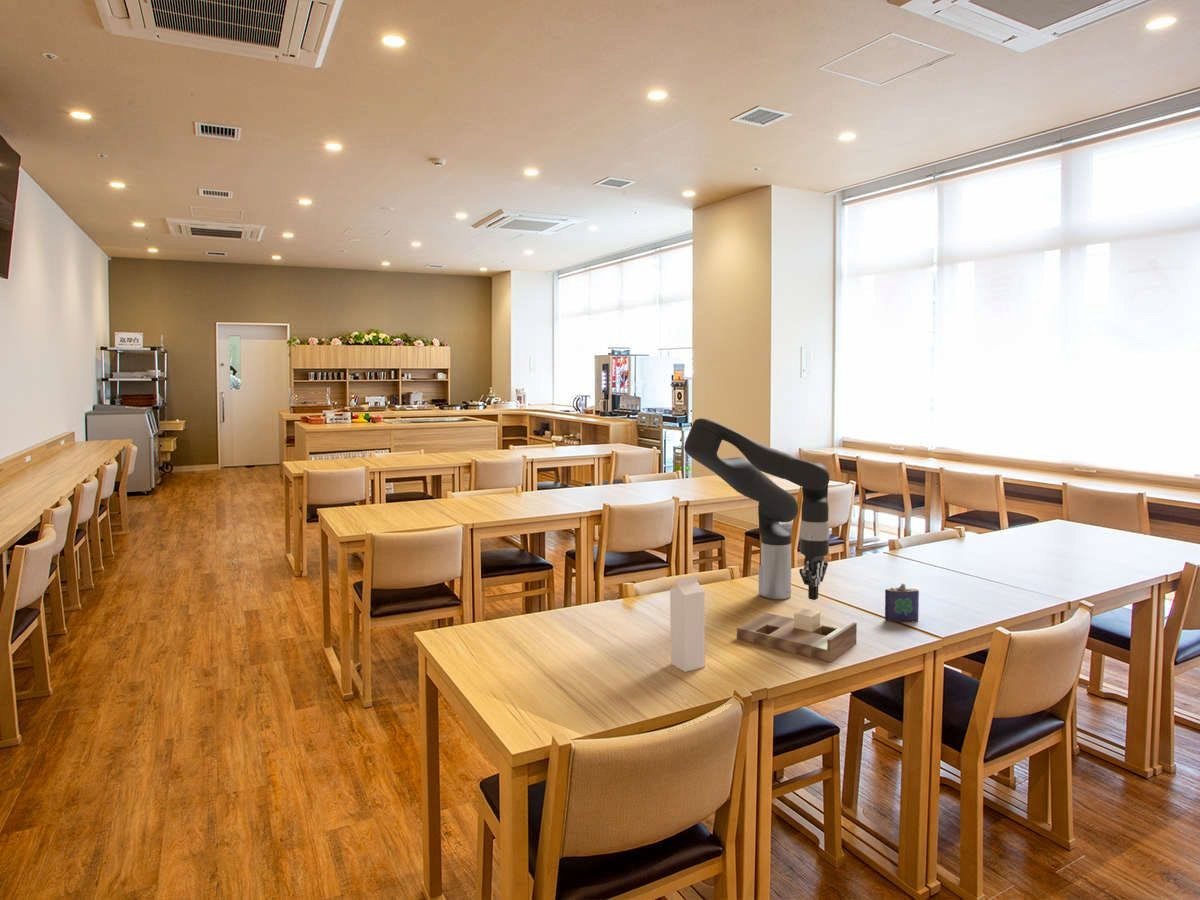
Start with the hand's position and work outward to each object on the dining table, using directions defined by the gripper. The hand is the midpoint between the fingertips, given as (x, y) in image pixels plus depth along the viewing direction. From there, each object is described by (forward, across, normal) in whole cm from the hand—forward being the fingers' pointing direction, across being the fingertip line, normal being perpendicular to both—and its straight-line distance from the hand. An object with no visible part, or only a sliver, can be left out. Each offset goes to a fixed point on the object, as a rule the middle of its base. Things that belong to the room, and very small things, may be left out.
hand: (813, 598), depth 201 cm
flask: (+8, +22, -16) cm, 29 cm away
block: (+6, -7, -2) cm, 9 cm away
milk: (+9, -42, +12) cm, 45 cm away
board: (+9, -11, 0) cm, 14 cm away
